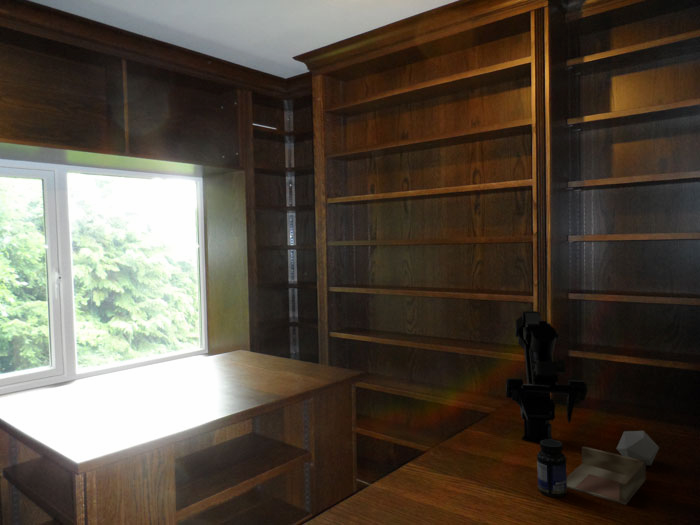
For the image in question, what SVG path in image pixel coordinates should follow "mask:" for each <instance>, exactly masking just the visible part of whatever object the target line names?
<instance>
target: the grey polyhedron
mask: <svg viewBox="0 0 700 525" xmlns="http://www.w3.org/2000/svg"><path fill="white" fill-rule="evenodd" d="M659 449H660V447H659V446H658V445H657V444H656V442H655V441H654V440H653V439H652V438H651V437H650V436H649V434H647V433H646V432H645V430H626V431H623V433H622V435H621V437H620V439H619V442H618V444H617V446H616V450H617V452H619V453H620V454H619V455H622V456H627V457H631V458H635V459H639V460H644V461H646V466H652V464H653V462H654V460H655V458H656V455H657V453H658V451H659Z"/></svg>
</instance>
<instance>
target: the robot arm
mask: <svg viewBox="0 0 700 525" xmlns="http://www.w3.org/2000/svg"><path fill="white" fill-rule="evenodd" d="M514 326H515V328H514V331H515V332H514V334H515V337H516V338H517V343H518V345H519V346H520V347H521V348H522V349H523V351H524V352H523V353H524V361H525V371H526V372H525V373H526V382H527V383H524V379H523V378H521V377H508V378H507V379H506V380H505V381H506V382H505V397H506V398H508V399H511V401H512V402H514V401H515V402H516V403H517V404H518V406H519V408H520V416H521V419H522V420H523V432H524V433H523V435H522V437H521V440H525V441H529V442H532V443H536V444H540V441H542V440H545V439H552V440H553V436H552V424H551V422H550V421H552V422H553V421H554V420H555V419H556V413H555V412H556V407H557V406H556V403H555V401H554V400H553V398H551V394H566V397H567V398H566V418H567V423H569V424H570V423H571V422H572V421H571V420H572V416H573V412H574V411H573V410H574V408H575V405H576V404H580V403H581V402H582V401H585V399H586V397H587V393H588V385H587V383H586V382H585V381H584V380H583V379H582V380H581V379H580V380H579V379H568V380H567V381H568V382H567V384H565V385H564V384H557V383H558V382H559V375H560V374H563V375H564V374H565V373H567V371H566V370H567V368H566V362H565V359H556V360H555V361H554V355H553V352H554V349H555V347H556V346H555V344H556V341H557V339H559V334H558V332H557V330H556V329H555V328H554V327H553V326H552V325H551V323H549V322H548V321H547V320H543V319H542V317H541V312H540V311H537V310H535V311H532V310H526V311H525V310H524V311H523V312H522V314H521V316H520V317H519V318H517V319H515V325H514Z"/></svg>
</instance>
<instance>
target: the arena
mask: <svg viewBox="0 0 700 525" xmlns="http://www.w3.org/2000/svg"><path fill="white" fill-rule="evenodd" d="M646 471H647V465H646V461H644V460H639V459H635V458H631V457H627V456H622V455H621V454H617V453H614V452H609V451H604V450H600V449H595V448H593V447H588V446H582V447H581V464H580V465H579V466H578V467H576V468H575V469H574V470H572V472H570V473H569V474H568V475H567V489H569V490H570V489H571V490H575V491H577V492H580V493H584V494H587V495H590V496H594V497H598V498H601V499H604V500H608V501H610V502H614V503H615V502H616V503H618V504H621V505H627V504H628V503H629V502H630V500H631V499H632V497H633V496H634V495H635V494H636V493H637V491H638V490H639V489H640V488H641V486H642V485H643V484H644V483H645V482H646V480H647V477H646V475H647V472H646Z"/></svg>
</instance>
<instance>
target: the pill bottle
mask: <svg viewBox="0 0 700 525" xmlns="http://www.w3.org/2000/svg"><path fill="white" fill-rule="evenodd" d="M539 448H540V450H539V451H538V452H537V454H536V457H537V458H536V462H537V464H536V465H537V466H536V467H537V490H538V491H539V492H540V493H541V494H542V495H545V496H548V497H554V498H559V497H563V496H564V497H565V495H567V493H568V488H567V476H568V475H567V457H566V455H565V454H564V453H563V452H562V451H563V443H562V442H561V441H560V440H556V439H553V438H552V439H545V440H542V441H540V443H539Z"/></svg>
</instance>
